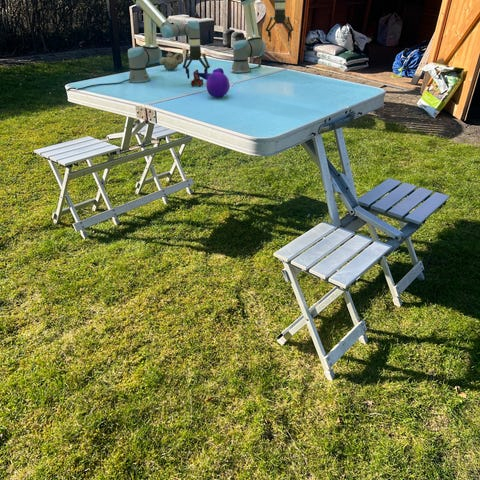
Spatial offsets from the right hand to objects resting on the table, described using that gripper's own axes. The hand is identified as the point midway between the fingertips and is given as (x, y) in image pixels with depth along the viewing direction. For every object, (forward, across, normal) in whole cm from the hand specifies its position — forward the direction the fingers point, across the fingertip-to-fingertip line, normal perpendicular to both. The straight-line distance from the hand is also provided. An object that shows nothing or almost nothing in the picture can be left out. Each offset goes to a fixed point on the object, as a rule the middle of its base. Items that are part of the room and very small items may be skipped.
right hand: (279, 41), depth 330 cm
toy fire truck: (+25, +55, +35) cm, 70 cm away
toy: (+25, +36, +66) cm, 79 cm away
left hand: (+20, +55, +35) cm, 68 cm away
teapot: (+25, +92, -23) cm, 98 cm away
